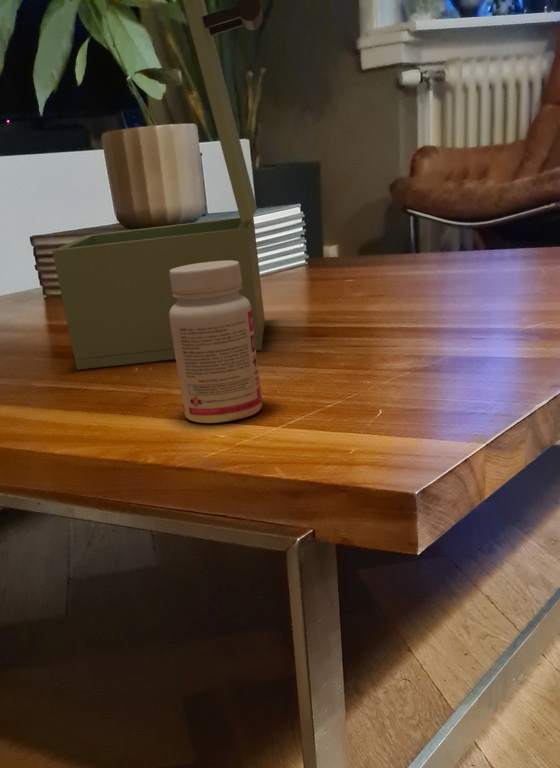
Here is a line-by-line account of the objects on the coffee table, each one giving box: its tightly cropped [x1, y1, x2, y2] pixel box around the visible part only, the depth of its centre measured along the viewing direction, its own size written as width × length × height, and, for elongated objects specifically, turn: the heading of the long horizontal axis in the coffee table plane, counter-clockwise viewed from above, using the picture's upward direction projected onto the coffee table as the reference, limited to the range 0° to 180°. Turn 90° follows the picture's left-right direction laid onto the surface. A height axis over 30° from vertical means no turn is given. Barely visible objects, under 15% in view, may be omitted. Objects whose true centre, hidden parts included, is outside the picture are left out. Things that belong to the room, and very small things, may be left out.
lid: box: [182, 0, 264, 222], centre depth 69 cm, size 15×13×5 cm
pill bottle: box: [169, 260, 263, 424], centre depth 53 cm, size 5×5×8 cm
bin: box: [51, 216, 266, 371], centre depth 75 cm, size 15×13×9 cm
